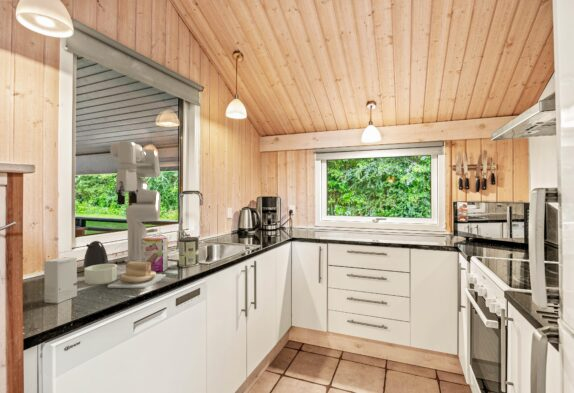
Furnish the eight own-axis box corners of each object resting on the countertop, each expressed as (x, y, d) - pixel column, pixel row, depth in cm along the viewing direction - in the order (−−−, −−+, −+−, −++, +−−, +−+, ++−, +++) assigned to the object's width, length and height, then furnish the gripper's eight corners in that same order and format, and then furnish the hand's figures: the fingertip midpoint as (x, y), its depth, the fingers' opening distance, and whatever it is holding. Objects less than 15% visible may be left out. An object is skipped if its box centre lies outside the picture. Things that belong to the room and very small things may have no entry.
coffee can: (190, 261, 171) (190, 236, 171) (202, 264, 166) (202, 238, 165) (174, 265, 163) (174, 238, 163) (187, 268, 157) (186, 240, 157)
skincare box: (57, 304, 108) (56, 261, 107) (43, 302, 109) (42, 260, 108) (78, 295, 116) (77, 256, 115) (64, 294, 117) (64, 255, 117)
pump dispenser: (77, 274, 145) (77, 242, 145) (95, 268, 155) (94, 238, 155) (96, 275, 143) (96, 243, 143) (113, 269, 153) (112, 239, 153)
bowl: (97, 276, 142) (97, 263, 142) (122, 277, 141) (122, 263, 141) (78, 284, 130) (78, 270, 130) (105, 285, 129) (105, 270, 129)
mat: (132, 275, 144) (132, 273, 144) (165, 276, 142) (165, 274, 142) (107, 287, 126) (107, 285, 126) (145, 288, 124) (145, 286, 124)
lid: (132, 274, 142) (131, 259, 141) (161, 275, 141) (161, 259, 140) (112, 284, 128) (112, 266, 127) (145, 284, 127) (145, 267, 126)
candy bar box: (141, 271, 150) (140, 238, 150) (146, 269, 155) (146, 236, 155) (163, 272, 149) (162, 238, 149) (168, 269, 154) (167, 236, 154)
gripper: (130, 168, 155) (130, 202, 155) (107, 166, 137) (108, 204, 138) (144, 168, 154) (144, 203, 154) (123, 166, 137) (124, 204, 137)
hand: (127, 203), depth 146 cm, fingers open, 9 cm apart
